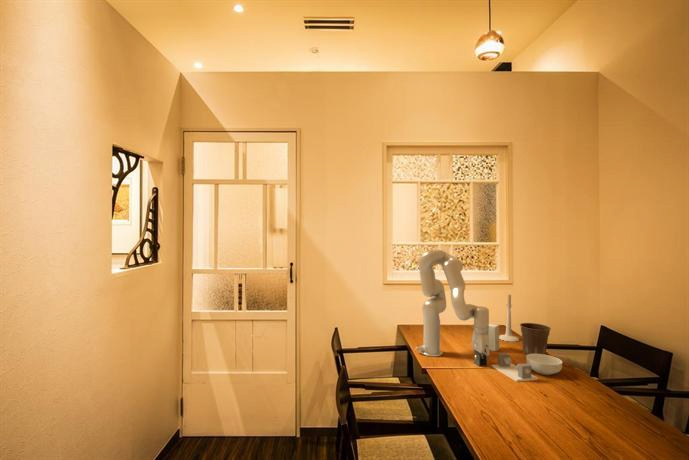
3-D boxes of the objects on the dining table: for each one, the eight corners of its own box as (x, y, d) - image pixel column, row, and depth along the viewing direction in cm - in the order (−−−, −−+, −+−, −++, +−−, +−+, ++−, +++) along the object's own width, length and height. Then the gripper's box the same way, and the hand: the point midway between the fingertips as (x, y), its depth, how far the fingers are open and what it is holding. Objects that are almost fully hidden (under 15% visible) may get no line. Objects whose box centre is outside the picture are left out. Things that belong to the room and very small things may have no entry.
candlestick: (493, 337, 258) (494, 292, 258) (507, 335, 263) (508, 291, 263) (509, 343, 246) (510, 296, 246) (523, 340, 252) (524, 295, 251)
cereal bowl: (567, 380, 188) (567, 365, 188) (530, 377, 192) (530, 363, 191) (555, 367, 205) (555, 354, 205) (522, 364, 208) (522, 351, 208)
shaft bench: (516, 381, 185) (516, 367, 185) (491, 366, 205) (491, 353, 205) (538, 379, 188) (538, 365, 188) (511, 365, 208) (511, 352, 207)
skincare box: (499, 349, 233) (500, 325, 233) (495, 351, 229) (495, 327, 229) (486, 346, 239) (486, 322, 239) (481, 348, 235) (482, 324, 235)
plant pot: (543, 349, 234) (543, 323, 234) (555, 358, 218) (555, 330, 218) (515, 348, 236) (515, 322, 236) (525, 357, 220) (525, 329, 220)
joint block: (477, 366, 205) (477, 355, 205) (472, 363, 209) (472, 352, 209) (488, 365, 206) (488, 354, 206) (483, 362, 211) (483, 351, 211)
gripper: (466, 326, 215) (465, 358, 215) (484, 334, 198) (483, 370, 199) (478, 325, 217) (477, 358, 217) (496, 334, 200) (496, 369, 200)
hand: (480, 363), depth 208 cm, fingers closed on joint block, 4 cm apart
